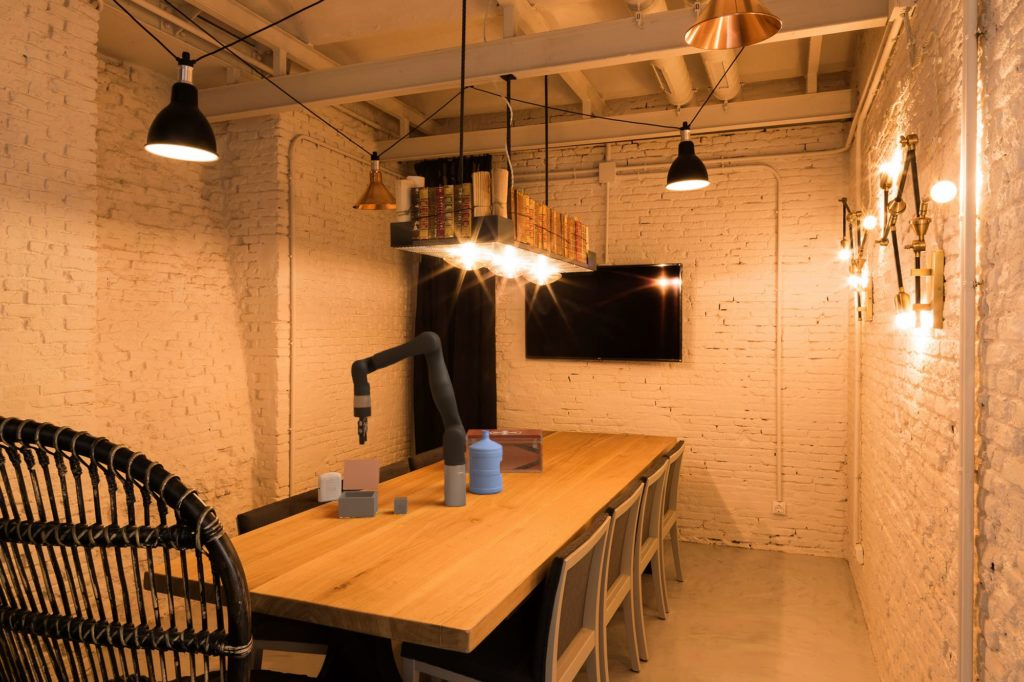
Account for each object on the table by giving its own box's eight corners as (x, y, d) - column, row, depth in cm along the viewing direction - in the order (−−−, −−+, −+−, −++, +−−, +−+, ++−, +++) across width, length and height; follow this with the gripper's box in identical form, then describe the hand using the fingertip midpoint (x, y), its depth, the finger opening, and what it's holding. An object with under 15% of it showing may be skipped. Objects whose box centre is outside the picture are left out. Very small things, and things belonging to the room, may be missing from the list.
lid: (378, 488, 284) (378, 489, 285) (379, 458, 288) (379, 459, 288) (342, 489, 283) (343, 489, 284) (344, 459, 286) (344, 459, 287)
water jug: (483, 496, 305) (482, 434, 304) (462, 490, 317) (461, 430, 316) (509, 491, 315) (509, 430, 315) (488, 485, 327) (487, 427, 327)
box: (377, 509, 284) (377, 490, 283) (374, 517, 272) (374, 497, 271) (343, 510, 283) (343, 491, 282) (338, 518, 271) (338, 498, 270)
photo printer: (339, 497, 304) (339, 470, 304) (342, 499, 301) (342, 471, 301) (316, 501, 299) (316, 473, 299) (319, 503, 295) (319, 474, 295)
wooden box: (543, 473, 355) (543, 434, 355) (465, 473, 356) (465, 435, 355) (542, 465, 375) (542, 429, 375) (468, 465, 376) (468, 429, 376)
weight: (407, 511, 281) (407, 496, 281) (406, 514, 276) (406, 499, 276) (395, 511, 281) (395, 497, 281) (394, 514, 276) (393, 500, 276)
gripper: (369, 407, 288) (370, 445, 288) (372, 403, 302) (373, 440, 303) (351, 407, 287) (352, 446, 288) (355, 404, 302) (356, 440, 302)
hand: (363, 443), depth 295 cm, fingers open, 8 cm apart
